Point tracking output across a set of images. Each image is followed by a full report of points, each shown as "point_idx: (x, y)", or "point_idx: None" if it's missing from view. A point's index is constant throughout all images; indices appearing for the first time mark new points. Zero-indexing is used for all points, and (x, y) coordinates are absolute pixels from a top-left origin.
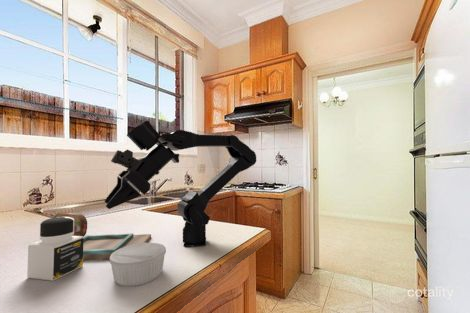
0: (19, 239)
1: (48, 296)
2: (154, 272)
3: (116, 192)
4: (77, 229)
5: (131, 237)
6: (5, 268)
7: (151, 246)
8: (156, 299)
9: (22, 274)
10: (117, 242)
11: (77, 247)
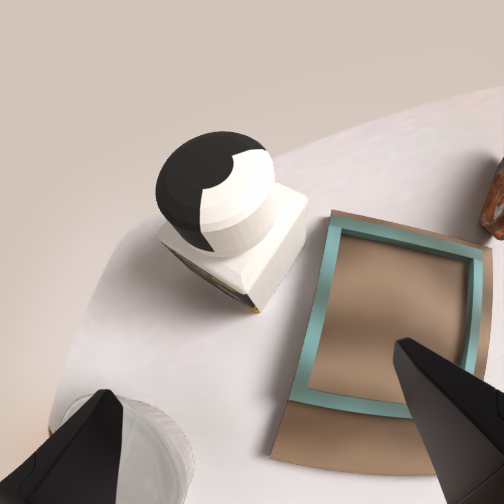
0: (482, 109)
1: (127, 284)
2: None
3: (49, 467)
4: (498, 210)
5: None
6: (317, 141)
7: (138, 501)
8: None
9: None
10: None
11: (227, 288)
